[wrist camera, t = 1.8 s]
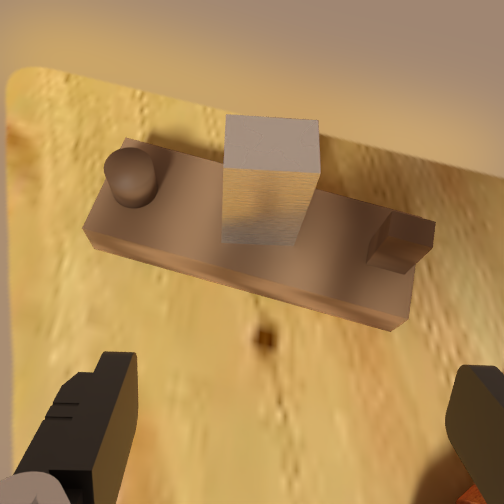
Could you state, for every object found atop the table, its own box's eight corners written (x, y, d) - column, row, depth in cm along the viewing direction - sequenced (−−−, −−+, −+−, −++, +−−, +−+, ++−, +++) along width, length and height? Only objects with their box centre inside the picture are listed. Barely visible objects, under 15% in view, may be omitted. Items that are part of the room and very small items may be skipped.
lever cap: (292, 197, 30) (318, 113, 22) (293, 246, 28) (320, 173, 21) (223, 194, 29) (226, 107, 22) (221, 242, 28) (223, 168, 21)
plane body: (404, 237, 32) (450, 183, 26) (390, 331, 30) (438, 298, 23) (133, 163, 33) (113, 94, 27) (94, 248, 30) (61, 193, 24)
